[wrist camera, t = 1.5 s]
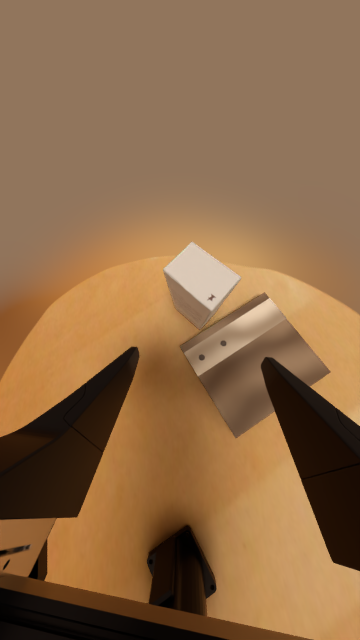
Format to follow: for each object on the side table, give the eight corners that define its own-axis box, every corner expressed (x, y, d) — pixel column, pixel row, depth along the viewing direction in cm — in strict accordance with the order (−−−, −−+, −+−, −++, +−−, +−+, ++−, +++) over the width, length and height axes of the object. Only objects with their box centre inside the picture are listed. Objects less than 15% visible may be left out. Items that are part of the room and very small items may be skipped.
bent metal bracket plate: (320, 370, 20) (332, 372, 19) (232, 431, 19) (236, 439, 18) (259, 295, 23) (265, 291, 21) (180, 346, 22) (179, 346, 20)
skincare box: (215, 312, 23) (244, 277, 11) (199, 330, 23) (212, 313, 11) (189, 291, 24) (192, 238, 12) (173, 307, 24) (160, 269, 12)
